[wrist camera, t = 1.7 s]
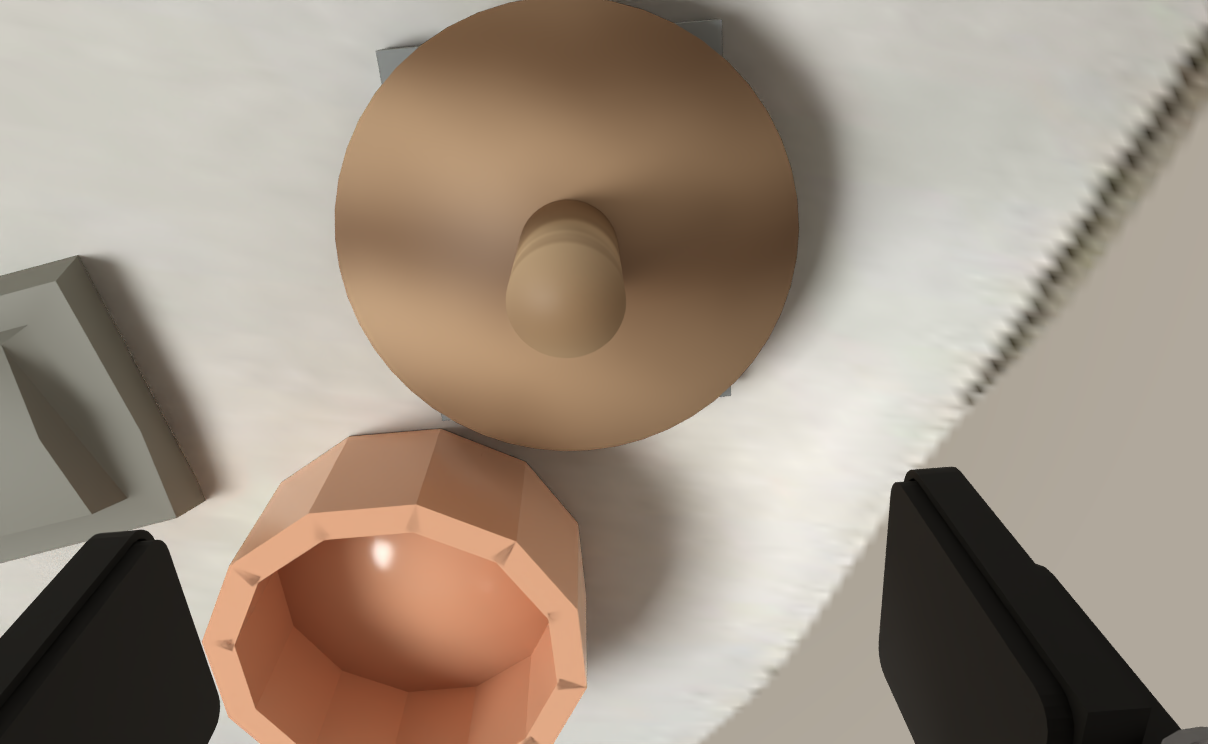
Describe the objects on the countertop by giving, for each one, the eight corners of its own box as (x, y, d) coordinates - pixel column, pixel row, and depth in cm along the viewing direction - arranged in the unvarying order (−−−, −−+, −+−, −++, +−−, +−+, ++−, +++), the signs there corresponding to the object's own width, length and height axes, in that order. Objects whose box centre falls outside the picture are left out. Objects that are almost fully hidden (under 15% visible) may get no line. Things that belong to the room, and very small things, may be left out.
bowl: (224, 447, 30) (161, 526, 26) (565, 417, 30) (563, 491, 26) (302, 705, 35) (261, 809, 31) (596, 681, 35) (598, 781, 31)
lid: (299, 19, 24) (211, 25, 18) (791, -25, 24) (858, -34, 18) (390, 450, 30) (345, 557, 24) (788, 416, 29) (838, 515, 24)
